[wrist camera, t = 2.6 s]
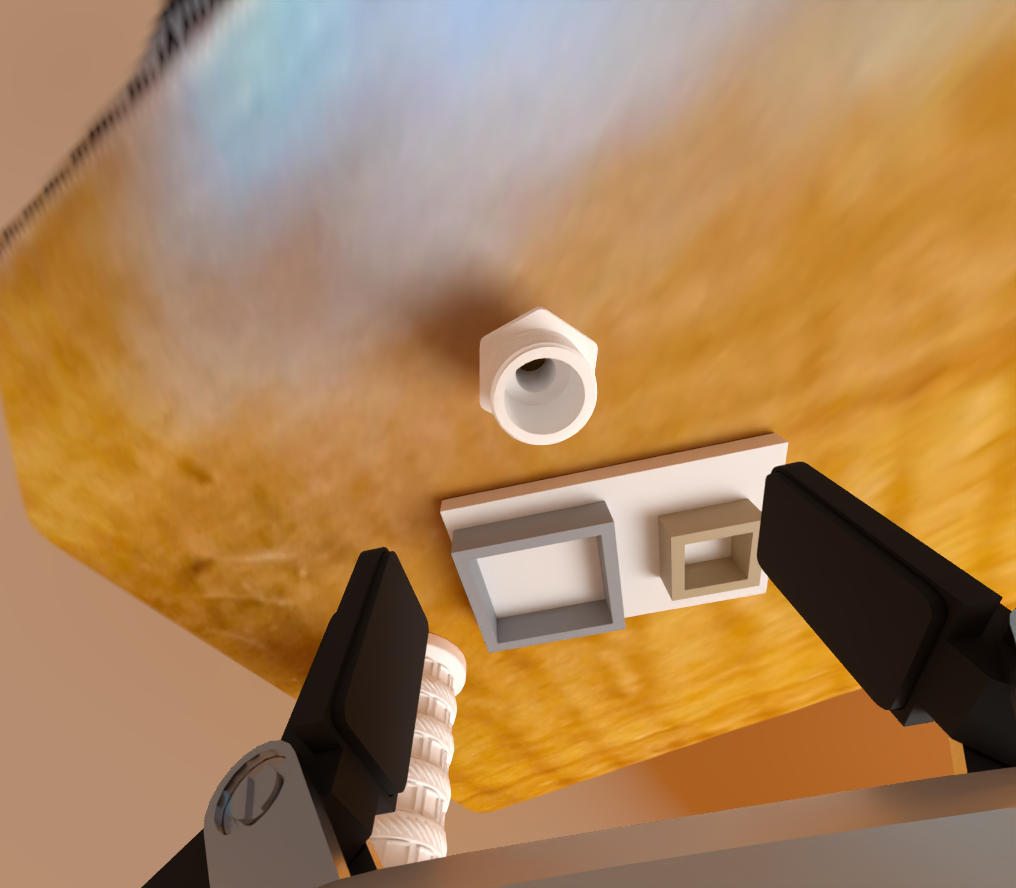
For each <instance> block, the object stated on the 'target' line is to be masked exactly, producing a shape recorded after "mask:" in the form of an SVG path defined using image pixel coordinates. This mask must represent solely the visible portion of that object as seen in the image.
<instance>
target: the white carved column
mask: <svg viewBox="0 0 1016 888" xmlns="http://www.w3.org/2000/svg"><path fill="white" fill-rule="evenodd" d="M465 678H466V660H465V657H464V655H463V653H462V652H461V651H460V650H459V648H458V647H457V646H456V645H454V644H453V643H451V642H450V641H449V640H447V639H445V638H443V637H440V636H438V635H435V634H432V633H428V641H427V648H426V655H425V662H424V668H423V675H422V682H421V689H420V696H419V703H418V709H417V716H416V723H415V730H414V737H413V744H412V751H411V757H410V764H409V771H408V778H407V783H406V787H405V790H404V791H403V792H402V793H398V798H397V804H396V810H395V812H392V813H386V814H381V815H375V820H374V825H373V831H372V835H371V836H370V839H371V841H372V844H373V846H374V848H375V850H376V853H377V855H378V857H379V860H380V862H381V864H382V866H383V868H388V867H394V866H399V865H404V864H409V863H415V862H420V861H425V860H431V859H436V858H441V857H446V852H447V843H446V833H445V831H444V819H445V812H446V811H447V809H448V805H449V801H450V797H451V789H450V781H449V779H448V769H449V765H450V763H451V760H452V756H453V753H454V743H453V736H452V734H451V731H452V725H453V724H454V720H455V717H456V712H457V706H456V699H455V696H456V695H457V694H458V693H459V692H460V691H461V690H462V688H463V686H464V684H465Z"/></svg>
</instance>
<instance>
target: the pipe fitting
mask: <svg viewBox="0 0 1016 888" xmlns="http://www.w3.org/2000/svg"><path fill="white" fill-rule="evenodd" d="M597 352H598V347H597V345H596V343H595V342H594V341H593V340H592V339H591V338H589V337H588V336H586V335H585V334H583V333H582V332H580V331H579V330H577V329H576V328H574V327H573V326H571V325H570V324H568V323H567V322H565V321H564V320H562V319H561V318H559V317H558V316H556V315H555V314H553V313H551V312H550V311H548V310H547V309H545V308H544V307H535V308H533V309H532V310H530V311H528V312H526V313H524V314H523V315H521V316H519V317H517V318H516V319H514V320H512V321H510V322H508V323H507V324H505V325H503V326H501V327H500V328H498V329H496V330H494V331H492V332H491V333H489V334H487V335H485V336H484V337H483V338H482V339H481V341H480V405H481V407H482V408H483V409H484V410H486V411H488V412H490V413H492V414H493V415H494V417H495V419H496V421H497V423H498V424H499V425H500V427H501V428H502V429H503V430H504V431H505V432H506V433H508V434H509V435H510V436H511V437H513V438H515V439H517V440H519V441H521V442H525V443H528V444H533V445H548V444H554V443H557V442H560V441H563V440H565V439H567V438H569V437H571V436H572V435H574V434H575V433H577V432H578V431H579V430H580V429H581V428H582V427H583V426H584V425H585V424H586V422H587V421H588V420H589V418H590V416H591V415H592V413H593V410H594V407H595V404H596V399H597V384H596V378H595V375H594V373H595V366H596V359H597ZM541 358H546V360H545V362H544V363H543V365H542V366H541V367H539V368H538V369H536V370H533V371H524V370H522V369H520V367H521V366H522V365H524V364H525V363H528V362H530V361H532V360H535V359H541Z"/></svg>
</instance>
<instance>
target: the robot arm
mask: <svg viewBox="0 0 1016 888" xmlns="http://www.w3.org/2000/svg"><path fill="white" fill-rule="evenodd" d="M757 560H758V563H759V565H760V567H761V569H762V570H763V571H764V573H765V574H766V575H767V576H768V577H769V578H770V580H771V581H772V582H773V583H774V584H775V585H776V587H777V588H778V589H779V590H780V591H781V593H782V594H783V595H784V596H785V597H786V598H787V600H788V601H789V602H790V603H791V604H792V606H793V607H794V608H795V609H796V610H797V611H798V613H799V614H800V615H801V616H802V617H803V618H804V620H805V621H806V622H807V623H808V624H809V626H810V627H811V628H812V629H813V630H814V631H815V633H816V634H817V635H818V636H819V637H820V638H821V640H822V641H823V642H824V643H825V644H826V646H827V647H828V648H829V649H830V650H831V651H832V653H833V654H834V655H835V656H836V657H837V658H838V660H839V661H840V662H841V663H842V664H843V666H844V667H845V668H846V669H847V670H848V671H849V673H850V674H851V675H852V676H853V677H854V679H855V680H856V681H857V682H858V683H859V684H860V686H861V687H862V688H863V689H864V690H865V691H866V693H867V694H868V695H869V696H870V697H871V699H872V700H873V701H874V702H875V703H876V704H877V705H879V706H880V707H881V708H883V709H885V710H890V711H891V712H892V713H893V714H894V716H895V717H896V718H897V719H898V721H899V722H900V723H901V724H902V725H903V726H904V727H905V726H911V725H917V724H923V723H928V722H933V721H935V722H936V723H937V724H938V725H939V726H940V727H941V728H942V729H943V730H944V731H945V732H946V733H947V734H948V736H949V743H950V750H951V756H952V763H953V770H954V775H951V776H944V777H936V778H930V779H924V780H916V781H910V782H904V783H897V784H891V785H885V786H878V787H872V788H865V789H858V790H852V791H846V792H839V793H832V794H826V795H820V796H813V797H807V798H800V799H794V800H787V801H781V802H775V803H769V804H762V805H757V806H750V807H744V808H737V809H731V810H724V811H718V812H712V813H706V814H699V815H693V816H688V817H681V818H675V819H669V820H663V821H656V822H650V823H644V824H637V825H631V826H625V827H619V828H613V829H606V830H601V831H594V832H588V833H582V834H576V835H570V836H564V837H558V838H552V839H546V840H540V841H534V842H528V843H522V844H516V845H510V846H505V847H498V848H492V849H486V850H480V851H474V852H468V853H463V854H457V855H452V856H446V857H441V858H436V859H431V860H425V861H420V862H415V863H409V864H404V865H399V866H394V867H388V868H383V866H382V864H381V862H380V860H379V857H378V855H377V853H376V850H375V848H374V846H373V844H372V841H371V839H370V836H371V835H372V831H373V825H374V820H375V815H381V814H386V813H392V812H395V810H396V804H397V798H398V793H402V792H403V791H404V790H405V787H406V783H407V778H408V771H409V764H410V757H411V751H412V744H413V737H414V730H415V723H416V716H417V709H418V703H419V696H420V689H421V682H422V675H423V668H424V662H425V655H426V648H427V641H428V633H429V627H428V621H427V618H426V616H425V614H424V612H423V610H422V608H421V606H420V603H419V601H418V599H417V597H416V595H415V593H414V591H413V589H412V586H411V584H410V582H409V580H408V578H407V576H406V574H405V572H404V569H403V567H402V565H401V563H400V561H399V559H398V557H397V555H396V553H395V552H394V551H391V552H389V551H388V549H387V548H386V547H382V548H377V549H372V550H367V551H363V552H362V553H361V554H360V555H359V558H358V560H357V563H356V565H355V568H354V570H353V573H352V575H351V578H350V580H349V582H348V585H347V587H346V590H345V592H344V595H343V597H342V600H341V602H340V605H339V607H338V610H337V612H336V613H335V614H334V615H333V616H332V618H331V620H330V622H329V624H328V627H327V629H326V632H325V634H324V637H323V639H322V641H321V644H320V646H319V649H318V651H317V653H316V656H315V658H314V661H313V663H312V666H311V668H310V670H309V673H308V675H307V678H306V680H305V683H304V685H303V687H302V690H301V692H300V695H299V697H298V700H297V702H296V704H295V707H294V709H293V712H292V714H291V717H290V719H289V721H288V724H287V726H286V729H285V731H284V734H283V736H282V738H281V740H277V741H269V742H267V743H264V744H262V745H260V746H257V747H256V748H254V749H253V750H252V751H250V752H249V753H247V754H246V755H244V756H243V757H242V758H241V759H240V760H239V761H238V762H237V763H236V764H235V765H234V766H233V767H232V768H231V769H230V770H229V772H228V773H227V774H226V776H225V777H224V778H223V780H222V781H221V782H220V784H219V785H218V787H217V789H216V791H215V792H214V794H213V796H212V798H211V800H210V802H209V805H208V808H207V811H206V814H205V819H204V829H203V830H201V831H200V832H199V833H198V834H197V835H196V836H195V837H194V838H193V839H192V840H191V841H190V842H189V843H188V844H187V845H186V846H185V847H184V848H182V850H180V851H179V852H178V853H177V854H176V855H175V856H174V857H173V858H172V859H171V860H170V861H169V862H168V863H167V864H166V865H165V866H164V867H163V868H161V869H160V870H159V871H158V872H157V873H156V874H155V875H154V876H153V877H152V878H151V879H150V880H149V881H148V882H147V883H146V884H145V885H144V886H143V887H141V888H1016V608H1015V609H1014V610H1013V611H1010V610H1009V609H1007V608H1006V607H1005V606H1003V605H1002V604H1000V601H1001V599H1002V598H1003V597H1001V596H1000V595H998V594H997V593H995V592H994V591H993V590H991V589H990V588H988V587H987V586H985V585H984V584H982V583H981V582H979V581H978V580H976V579H975V578H973V577H972V576H971V575H969V574H968V573H966V572H965V571H963V570H962V569H960V568H959V567H957V566H956V565H954V564H953V563H952V562H950V561H949V560H947V559H946V558H944V557H943V556H941V555H940V554H938V553H937V552H935V551H934V550H933V549H931V548H930V547H928V546H927V545H925V544H924V543H922V542H921V541H919V540H918V539H916V538H915V537H914V536H912V535H911V534H909V533H908V532H906V531H905V530H903V529H902V528H900V527H899V526H897V525H896V524H894V523H893V522H892V521H890V520H889V519H887V518H886V517H884V516H883V515H881V514H880V513H878V512H877V511H875V510H874V509H873V508H871V507H870V506H868V505H867V504H865V503H864V502H862V501H861V500H859V499H858V498H856V497H855V496H854V495H852V494H851V493H849V492H848V491H846V490H845V489H843V488H842V487H840V486H839V485H837V484H836V483H835V482H833V481H832V480H830V479H829V478H827V477H826V476H824V475H823V474H821V473H820V472H818V471H817V470H815V469H814V468H813V467H811V466H810V465H808V464H806V463H804V462H795V463H790V464H785V465H780V466H776V467H774V468H773V469H772V471H771V474H768V475H767V476H766V479H765V487H764V496H763V504H762V513H761V521H760V530H759V539H758V547H757Z"/></svg>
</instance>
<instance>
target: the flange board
mask: <svg viewBox="0 0 1016 888" xmlns="http://www.w3.org/2000/svg"><path fill="white" fill-rule="evenodd" d="M787 448H788V442H787V441H786V440H785V439H783V438H782V437H780V436H779V435H777V434H776V433H772V434H767V435H762V436H757V437H752V438H747V439H742V440H737V441H732V442H727V443H722V444H717V445H712V446H707V447H702V448H697V449H693V450H688V451H683V452H678V453H673V454H668V455H663V456H658V457H653V458H648V459H643V460H638V461H633V462H628V463H623V464H618V465H613V466H609V467H604V468H599V469H594V470H589V471H584V472H579V473H574V474H569V475H564V476H559V477H554V478H549V479H544V480H539V481H534V482H529V483H525V484H520V485H515V486H510V487H505V488H500V489H495V490H490V491H485V492H480V493H475V494H470V495H465V496H460V497H455V498H450V499H446V500H442V504H441V509H440V513H441V516H442V519H443V521H444V524H445V527H446V529H447V532H448V534H449V537H450V540H451V542H452V547H451V555H452V558H453V561H454V563H455V566H456V568H457V571H458V574H459V576H460V579H461V581H462V584H463V586H464V589H465V592H466V594H467V597H468V599H469V602H470V605H471V607H472V610H473V612H474V615H475V618H476V620H477V623H478V625H479V628H480V630H481V633H482V636H483V638H484V641H485V643H486V646H487V649H488V651H489V653H491V652H496V651H502V650H508V649H514V648H519V647H525V646H531V645H536V644H542V643H548V642H554V641H559V640H565V639H571V638H577V637H582V636H588V635H594V634H600V633H605V632H611V631H617V630H622V629H626V628H625V617H631V616H637V615H642V614H648V613H654V612H659V611H665V610H671V609H676V608H682V607H688V606H693V605H699V604H705V603H710V602H716V601H722V600H728V599H733V598H739V597H745V596H750V595H756V594H762V593H766V588H767V581H768V576H767V575H766V574H765V573H764V571H763V570H762V569H761V567H760V565H759V563H758V560H757V547H758V539H759V530H760V521H761V513H762V504H763V496H764V487H765V479H766V476H767V475H768V474H771V471H772V469H773V468H774V467H776V466H780V465H785V461H786V454H787Z"/></svg>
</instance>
